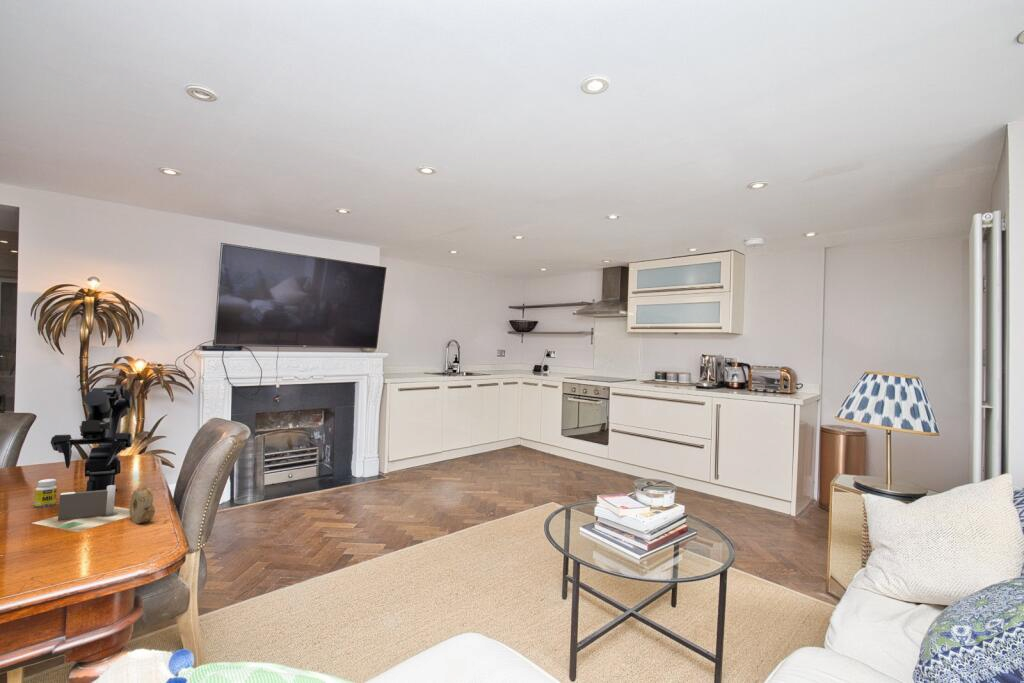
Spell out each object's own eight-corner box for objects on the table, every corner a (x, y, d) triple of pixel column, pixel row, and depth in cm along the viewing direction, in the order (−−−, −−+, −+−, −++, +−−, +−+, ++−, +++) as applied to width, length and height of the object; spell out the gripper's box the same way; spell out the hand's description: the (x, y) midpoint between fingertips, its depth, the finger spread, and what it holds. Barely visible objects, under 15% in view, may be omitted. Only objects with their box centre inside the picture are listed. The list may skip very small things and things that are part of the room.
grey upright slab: (113, 512, 138) (116, 484, 139) (112, 514, 137) (115, 486, 137) (59, 518, 132) (61, 489, 132) (57, 520, 130) (60, 491, 130)
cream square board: (102, 506, 145) (102, 504, 145) (145, 513, 141) (145, 511, 141) (31, 525, 128) (31, 522, 128) (77, 534, 124) (77, 531, 124)
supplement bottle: (40, 510, 139) (43, 483, 140) (29, 509, 140) (31, 481, 141) (59, 506, 144) (61, 479, 144) (47, 504, 145) (50, 477, 145)
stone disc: (125, 520, 135) (128, 486, 135) (140, 517, 138) (143, 483, 138) (139, 528, 129) (141, 493, 130) (154, 525, 132) (157, 490, 133)
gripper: (54, 409, 138) (39, 457, 130) (132, 408, 148) (124, 452, 140) (60, 427, 146) (47, 473, 137) (135, 425, 156) (127, 468, 147)
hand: (87, 466), depth 140 cm, fingers open, 9 cm apart
